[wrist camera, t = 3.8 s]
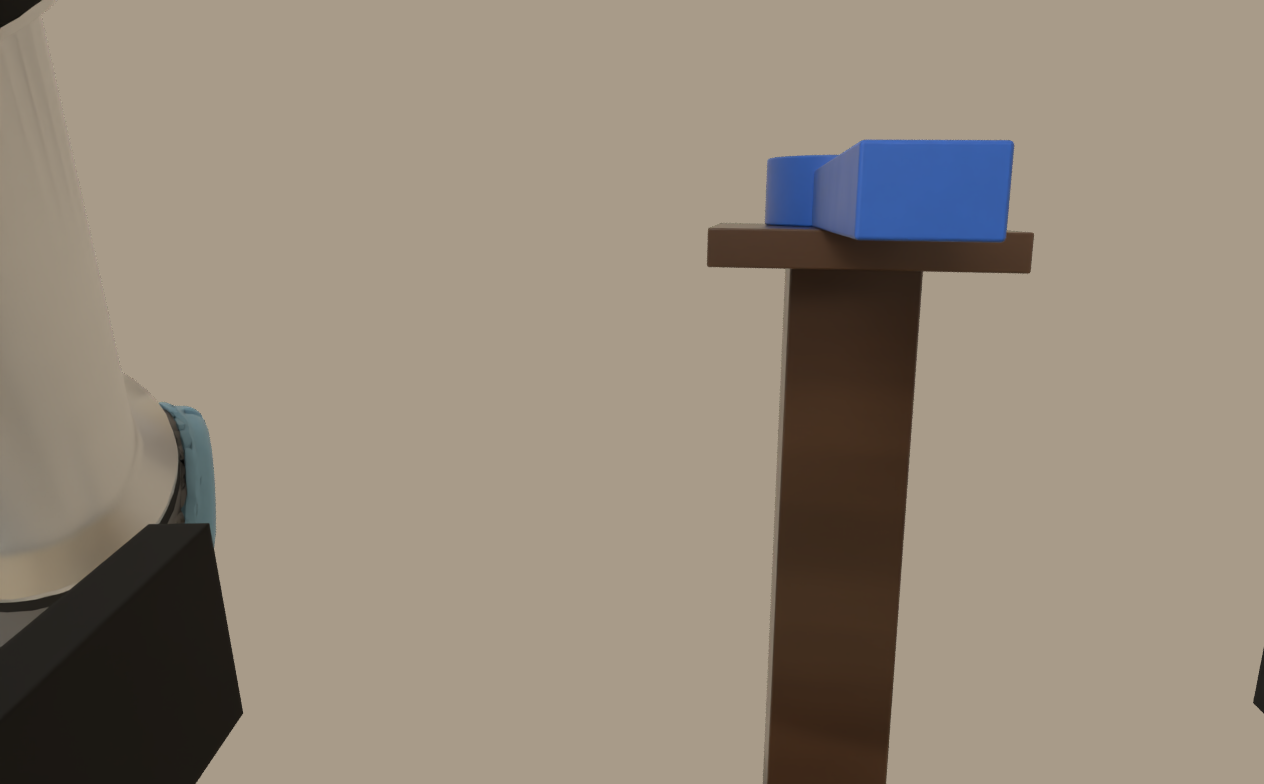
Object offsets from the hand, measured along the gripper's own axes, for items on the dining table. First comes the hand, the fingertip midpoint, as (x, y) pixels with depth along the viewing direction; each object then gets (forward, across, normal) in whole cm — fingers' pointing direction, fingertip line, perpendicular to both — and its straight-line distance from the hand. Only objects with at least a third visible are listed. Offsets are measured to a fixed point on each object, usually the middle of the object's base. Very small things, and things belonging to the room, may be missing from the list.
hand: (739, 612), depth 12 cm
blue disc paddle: (+13, +4, +3) cm, 14 cm away
